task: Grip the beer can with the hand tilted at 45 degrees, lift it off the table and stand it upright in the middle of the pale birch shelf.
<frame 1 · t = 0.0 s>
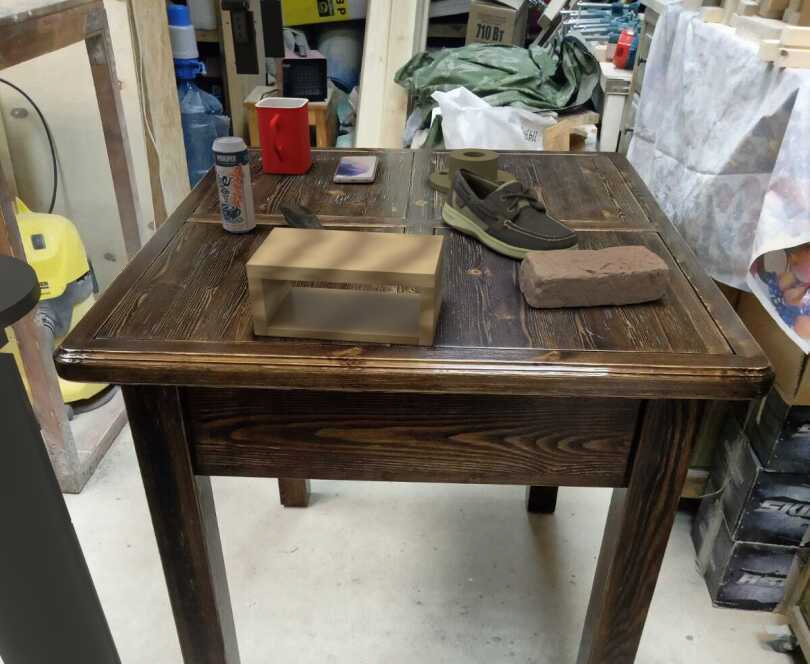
hand: (262, 65, 101), 21 cm above the table, tool pointing down, fingers open, 13 cm apart
flange: (472, 185, 132), on the table
beer can: (240, 230, 113), on the table
smartphone: (357, 173, 137), on the table
tool: (320, 243, 109), on the table
mug: (285, 172, 138), on the table
shelf: (352, 318, 89), on the table
brick: (588, 296, 95), on the table
boat shoe: (503, 243, 110), on the table
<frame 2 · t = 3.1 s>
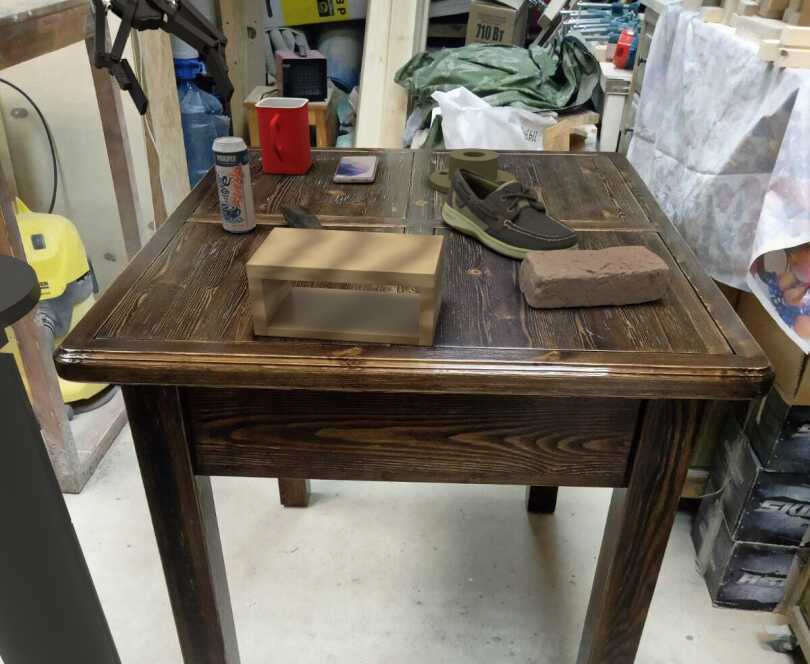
hand: (188, 102, 109), 15 cm above the table, tool tilted 45°, fingers open, 13 cm apart
nothing on the table moved.
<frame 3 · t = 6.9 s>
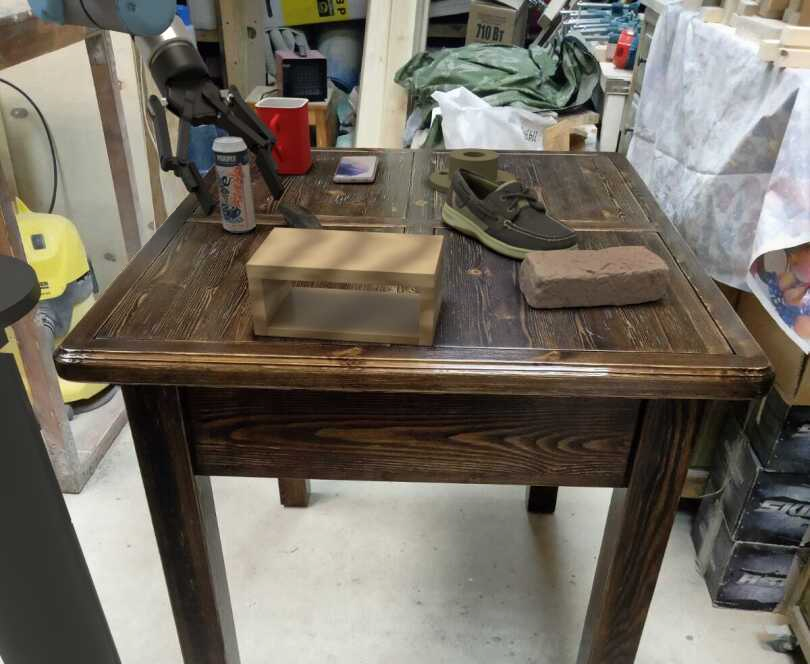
hand: (246, 202, 109), 4 cm above the table, tool tilted 45°, fingers open, 11 cm apart
tool: (320, 243, 109), on the table, touching gripper
everything else where it was.
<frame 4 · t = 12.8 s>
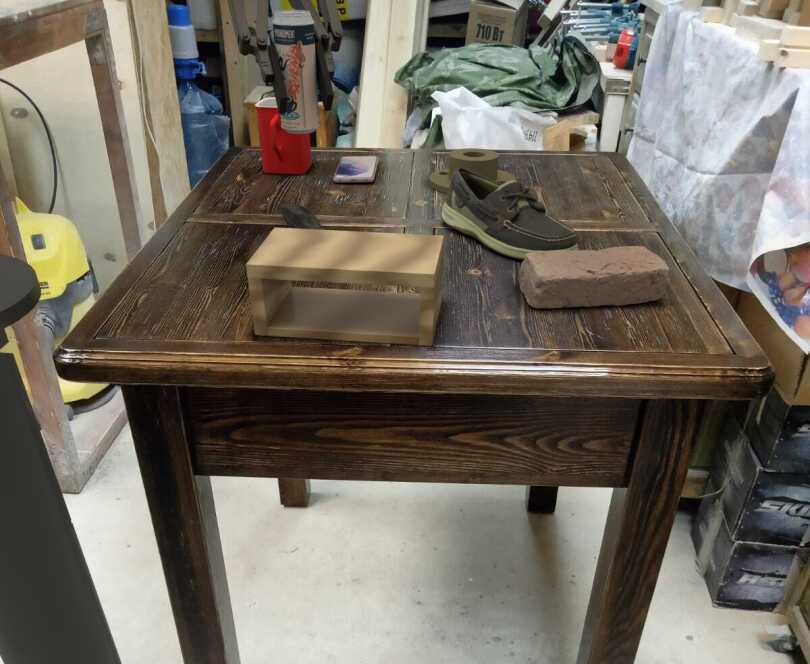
hand: (306, 104, 88), 19 cm above the table, tool tilted 45°, fingers closed on beer can, 5 cm apart
beer can: (301, 132, 93), point 16 cm above the table, touching gripper
tool: (319, 243, 109), on the table
everything else where it was.
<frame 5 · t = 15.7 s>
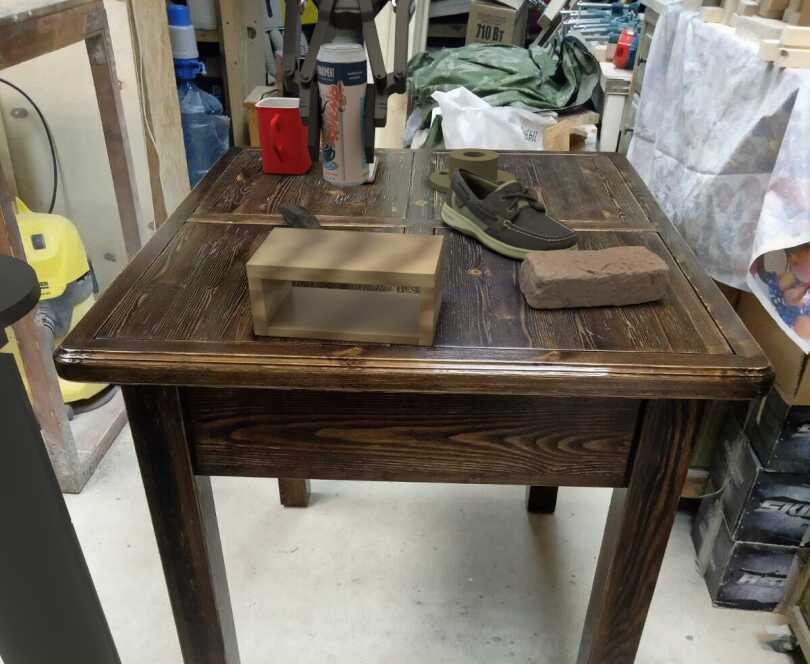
hand: (341, 154, 74), 18 cm above the table, tool tilted 45°, fingers closed on beer can, 5 cm apart
beer can: (346, 183, 80), point 15 cm above the table, touching gripper
everything else where it was.
when the fingers open (11 cm above the table, at t = 17.9 s): beer can stays where it is, resting on shelf.
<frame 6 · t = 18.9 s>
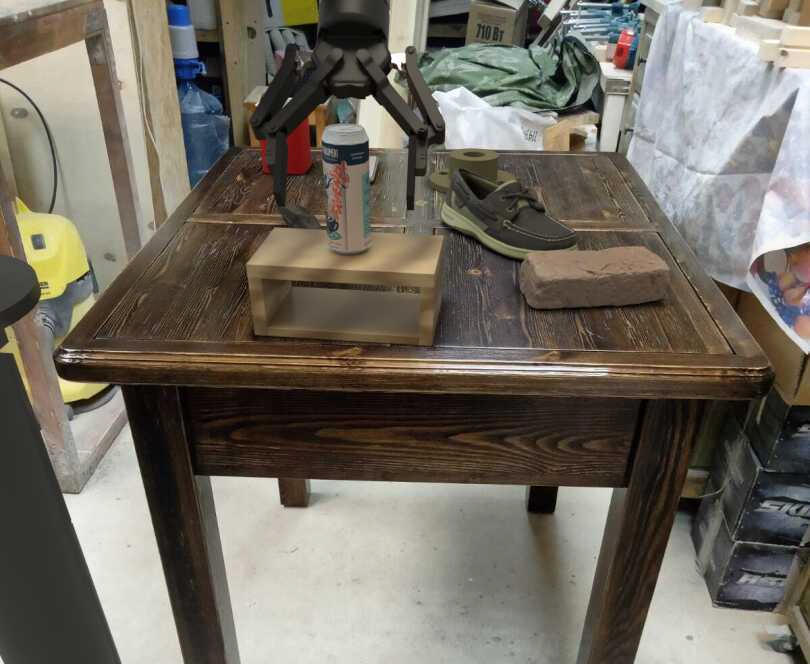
hand: (344, 202, 78), 14 cm above the table, tool tilted 45°, fingers open, 13 cm apart
beer can: (349, 250, 84), point 8 cm above the table, touching shelf
everything else where it was.
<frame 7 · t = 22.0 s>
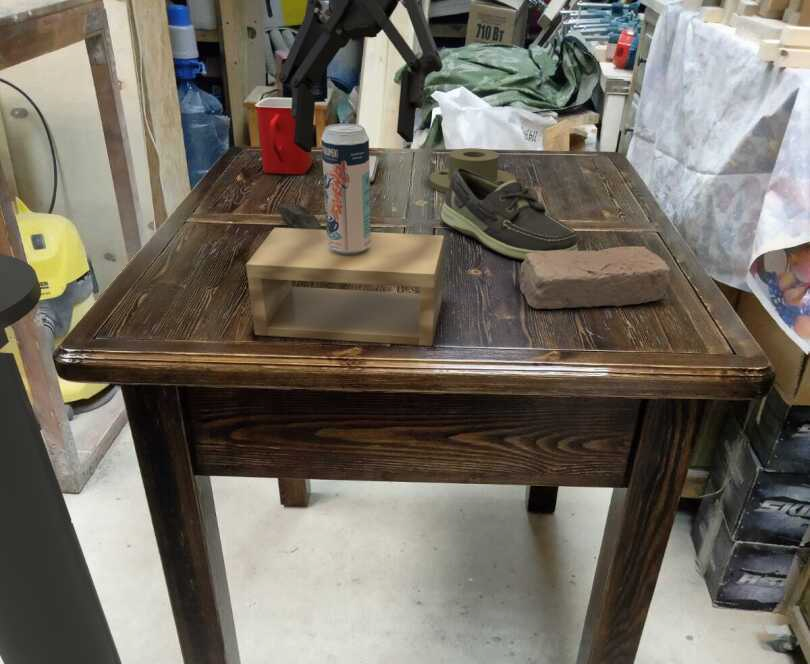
hand: (352, 143, 89), 16 cm above the table, tool tilted 35°, fingers open, 13 cm apart
nothing on the table moved.
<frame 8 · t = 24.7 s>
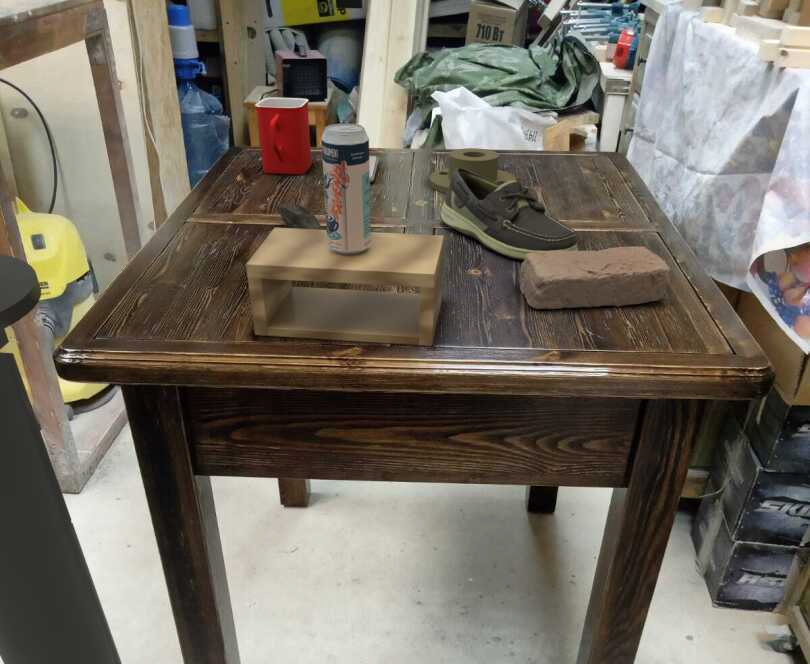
hand: (355, 2, 86), 29 cm above the table, tool pointing down, fingers open, 13 cm apart
nothing on the table moved.
at the end: beer can inside the target area on the shelf (0.1 cm from its centre), point 7.8 cm above the shelf's base; beer can tilted 0°; the gripper is holding nothing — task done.
